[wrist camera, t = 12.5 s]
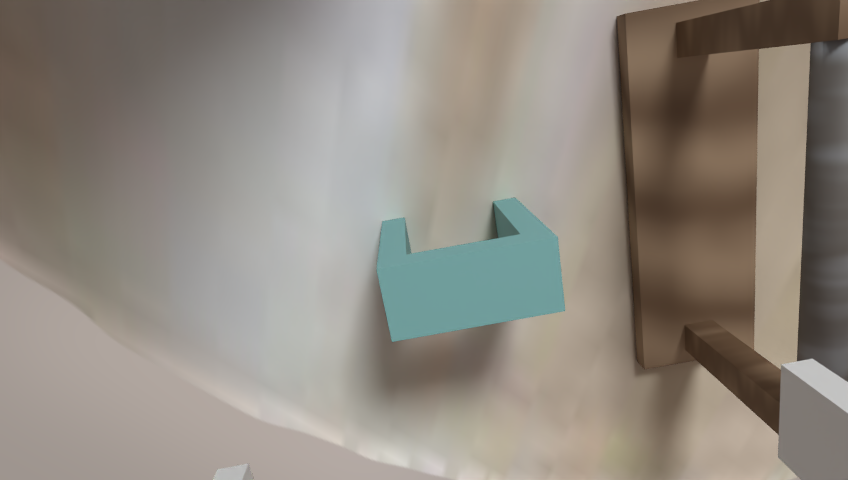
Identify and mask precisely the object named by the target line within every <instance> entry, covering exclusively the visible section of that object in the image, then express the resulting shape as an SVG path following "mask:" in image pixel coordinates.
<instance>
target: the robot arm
mask: <svg viewBox="0 0 848 480" xmlns="http://www.w3.org/2000/svg"><path fill="white" fill-rule="evenodd" d="M778 458H779V459H780V460H781V461H782V462H784V463H785V464H786V465H787V466H788V467H789V468H790V469H791V470H792V471H793V472H794V473H795V474H796V475H797V476H798V477H799V478H800V479H801V480H848V382H847V381H845V380H844V379H842V378H841V377H839V376H838V375H836V374H835V373H833V372H832V371H830V370H829V369H827V368H826V367H824V366H823V365H821V364H820V363H818V362H817V361H815V360H814V359H808V360H803V361H797V362H792V363H786V364H781V384H780V414H779V443H778ZM213 480H254V478H253V475H252V472H251V470H250V467H249V464H244V465H238V466H233V467H228V468H222V469H218V470H217V472H216V474H215V476H214V478H213Z"/></svg>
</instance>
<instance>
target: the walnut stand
mask: <svg viewBox="0 0 848 480" xmlns="http://www.w3.org/2000/svg"><path fill="white" fill-rule="evenodd" d="M617 27H618V44H619V61H620V78H621V95H622V112H623V129H624V146H625V163H626V180H627V197H628V214H629V231H630V248H631V265H632V282H633V299H634V316H635V333H636V350H637V361H638V363H639V364H640V365H641V366H642V367H643V368H644V369H650V368H655V367H661V366H666V365H672V364H678V363H683V362H689V361H694V360H697V361H698V362H699V363H700V364H701V365H702V366H704V367H705V368H706V369H707V370H708V371H709V372H710V373H711V374H712V375H713V376H715V377H716V378H717V379H718V380H719V381H720V382H721V383H722V384H723V385H724V386H726V387H727V388H728V389H729V390H730V391H731V392H732V393H733V394H734V395H735V396H737V397H738V398H739V399H740V400H741V401H742V402H743V403H744V404H745V405H746V406H748V407H749V408H750V409H751V410H752V411H753V412H754V413H755V414H756V415H757V416H759V417H760V418H761V419H762V420H763V421H764V422H765V423H766V424H767V425H768V426H770V427H771V428H772V429H773V430H774V431H775V432H776V433H777V434H778V435H779V414H780V384H781V370H780V369H779V368H777V367H776V366H775V365H773V364H772V363H771V362H769V361H768V360H767V359H765V358H764V357H762V356H761V355H760V354H758V353H757V352H756V351H754V312H755V249H756V186H757V123H758V60H759V49H761V48H770V47H779V46H788V45H797V44H806V43H811V51H810V74H809V97H808V120H807V143H806V166H805V189H804V212H803V235H802V258H801V281H800V304H799V327H798V350H797V361H803V360H808V359H814V360H815V361H817V362H818V363H820V364H821V365H823V366H824V367H826V368H827V369H829V370H830V371H832V372H833V373H835V374H836V375H838V376H839V377H841V378H842V379H844V380H845V381H847V382H848V0H769V1H765V2H760V3H759V0H698V1H693V2H687V3H682V4H676V5H671V6H665V7H660V8H654V9H649V10H643V11H638V12H632V13H627V14H623V15H620V16H617Z"/></svg>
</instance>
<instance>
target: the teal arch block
mask: <svg viewBox="0 0 848 480" xmlns="http://www.w3.org/2000/svg"><path fill="white" fill-rule="evenodd" d="M493 205H494V212H495V219H496V227H497V234H498V238H496V239H490V240H485V241H479V242H474V243H468V244H463V245H457V246H452V247H446V248H440V249H435V250H429V251H424V252H418V253H413V254H411V249H410V244H409V238H408V233H407V228H406V223H405V218H399V219H394V220H388V221H383V222H382V229H381V237H380V245H379V253H378V261H377V269H376V270H377V274H378V279H379V284H380V288H381V293H382V298H383V303H384V307H385V312H386V317H387V321H388V326H389V331H390V335H391V340H392V342H395V341H400V340H406V339H411V338H417V337H422V336H428V335H434V334H439V333H445V332H450V331H456V330H462V329H467V328H473V327H478V326H484V325H489V324H495V323H501V322H506V321H512V320H517V319H523V318H528V317H534V316H540V315H545V314H551V313H556V312H562V311H565V304H564V294H563V285H562V275H561V265H560V255H559V245H558V237H557V236H556V235H555V234H554V233H553V232H552V231H551V230H550V229H549V228H547V227H546V226H545V225H544V224H543V223H542V222H541V221H540V220H539V219H538V218H537V217H536V216H534V215H533V214H532V213H531V212H530V211H529V210H528V209H527V208H526V207H525V206H524V205H523V204H522V203H520V202H519V201H518V200H517V199H516V198H510V199H505V200H499V201H494V202H493Z"/></svg>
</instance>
